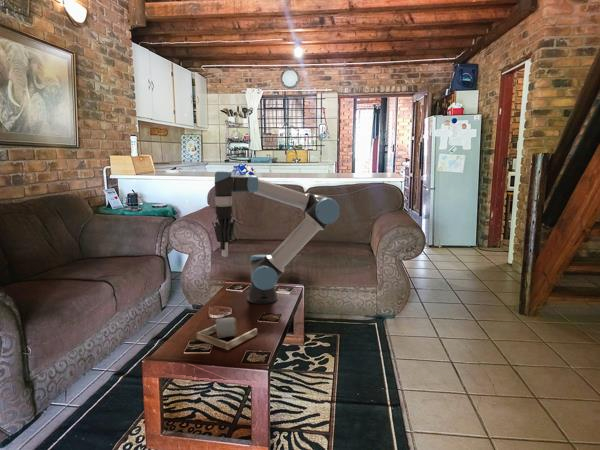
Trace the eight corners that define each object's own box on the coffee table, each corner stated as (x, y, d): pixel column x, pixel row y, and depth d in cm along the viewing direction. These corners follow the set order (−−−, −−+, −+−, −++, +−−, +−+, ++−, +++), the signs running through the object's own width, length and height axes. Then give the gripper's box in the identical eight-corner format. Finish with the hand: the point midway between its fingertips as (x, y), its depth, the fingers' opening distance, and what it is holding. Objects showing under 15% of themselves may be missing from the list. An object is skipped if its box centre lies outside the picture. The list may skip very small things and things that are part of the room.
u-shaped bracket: (226, 325, 179) (226, 319, 178) (257, 334, 169) (257, 328, 169) (196, 339, 165) (196, 333, 164) (227, 350, 155) (227, 343, 155)
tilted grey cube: (238, 337, 163) (236, 318, 162) (217, 341, 162) (215, 322, 161) (236, 328, 174) (233, 311, 173) (216, 332, 172) (213, 314, 171)
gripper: (227, 203, 196) (228, 252, 199) (207, 206, 185) (208, 257, 188) (239, 204, 191) (240, 254, 195) (219, 207, 181) (220, 260, 184)
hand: (225, 256), depth 192 cm, fingers closed
